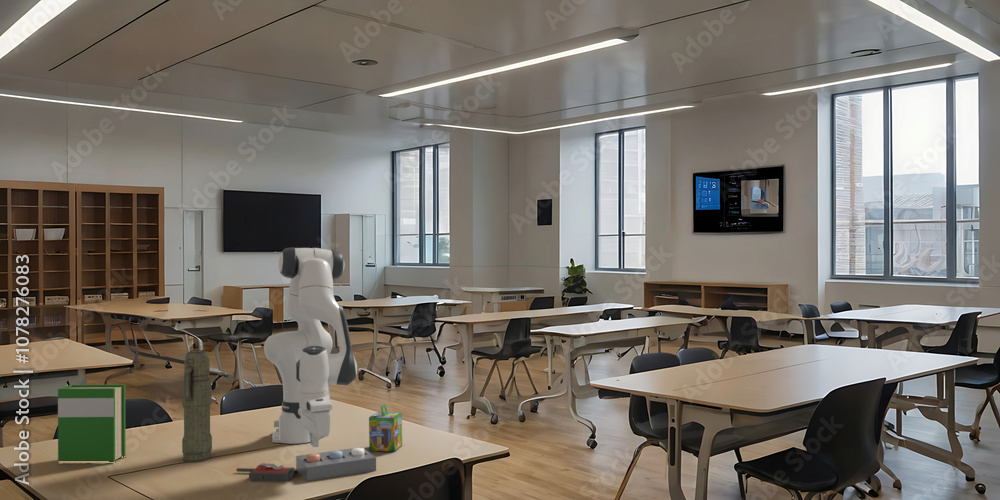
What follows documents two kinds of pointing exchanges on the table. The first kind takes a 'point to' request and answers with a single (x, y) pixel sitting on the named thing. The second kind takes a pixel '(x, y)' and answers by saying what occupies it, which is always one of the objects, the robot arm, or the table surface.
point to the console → (335, 465)
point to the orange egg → (312, 457)
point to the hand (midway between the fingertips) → (314, 446)
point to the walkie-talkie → (270, 473)
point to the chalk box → (385, 431)
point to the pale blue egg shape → (335, 454)
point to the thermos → (196, 407)
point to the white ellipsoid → (357, 451)
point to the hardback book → (91, 422)
